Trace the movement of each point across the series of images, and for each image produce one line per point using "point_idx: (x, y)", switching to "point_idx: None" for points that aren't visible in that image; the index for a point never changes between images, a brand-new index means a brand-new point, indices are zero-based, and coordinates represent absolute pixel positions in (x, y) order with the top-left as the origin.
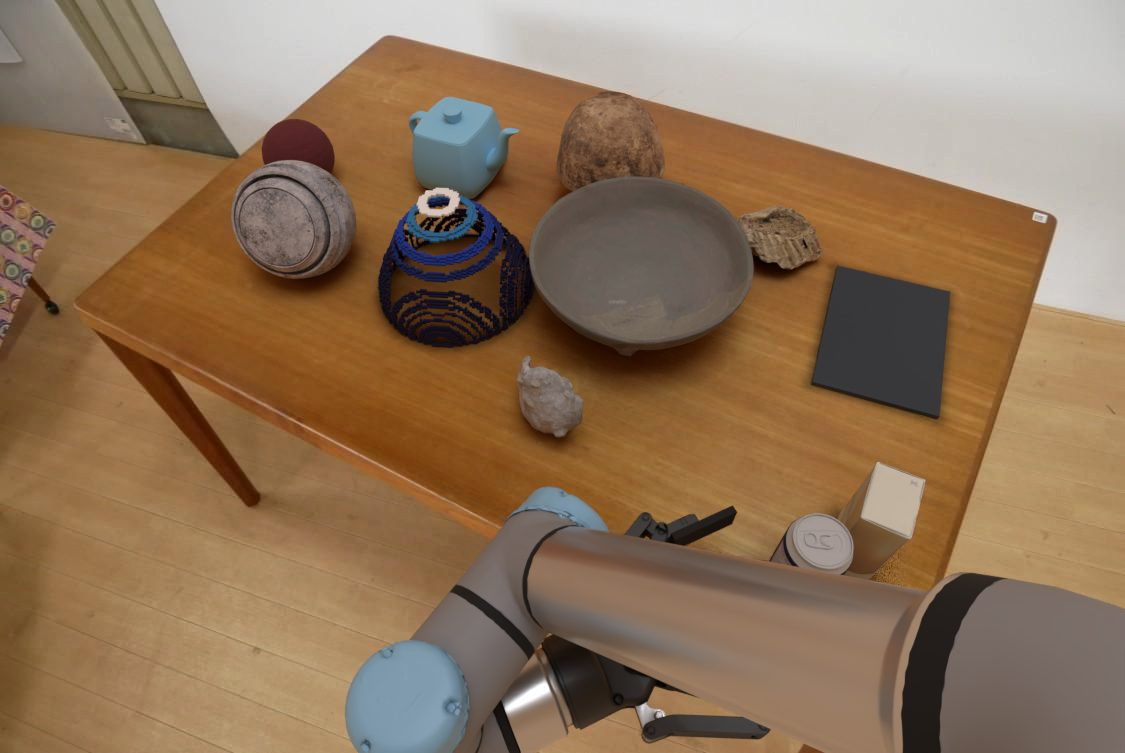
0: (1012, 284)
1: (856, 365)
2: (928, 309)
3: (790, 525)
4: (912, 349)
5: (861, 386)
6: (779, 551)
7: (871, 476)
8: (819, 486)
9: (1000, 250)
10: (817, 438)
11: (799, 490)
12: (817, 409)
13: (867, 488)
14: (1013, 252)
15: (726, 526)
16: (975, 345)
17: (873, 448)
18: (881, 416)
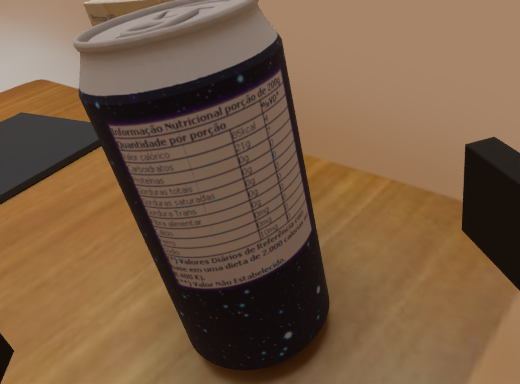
0: (59, 91)
1: (3, 173)
2: (18, 123)
3: (80, 91)
4: (39, 135)
5: (29, 172)
6: (147, 177)
7: (99, 4)
8: (109, 237)
9: (28, 94)
10: (44, 226)
11: (94, 263)
12: (9, 219)
13: (115, 7)
14: (38, 89)
15: (3, 368)
16: (82, 108)
17: (109, 178)
18: (80, 167)
